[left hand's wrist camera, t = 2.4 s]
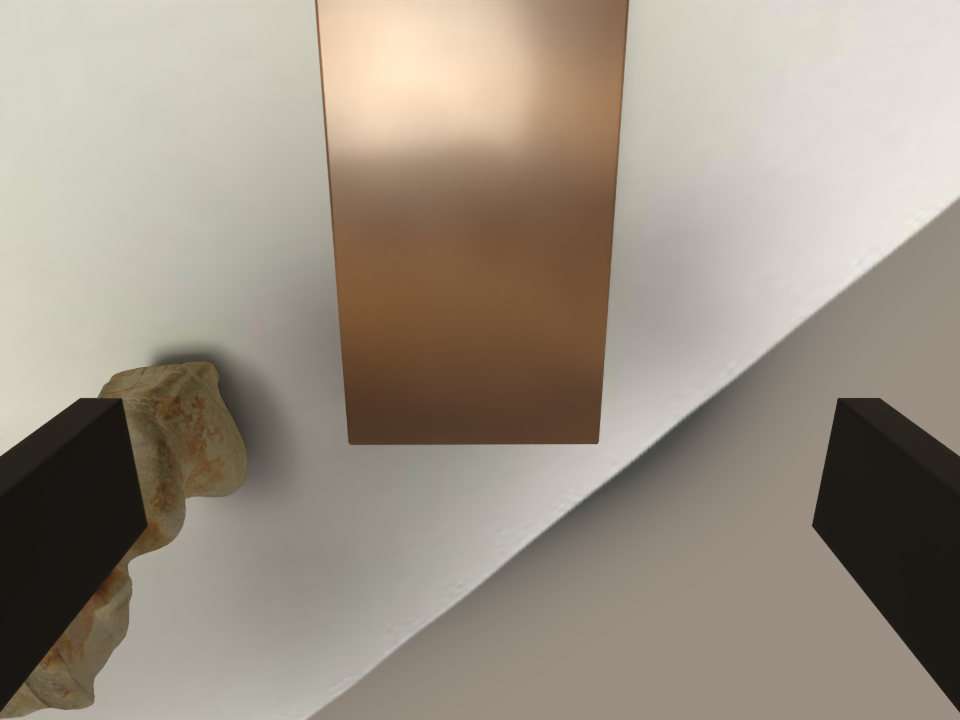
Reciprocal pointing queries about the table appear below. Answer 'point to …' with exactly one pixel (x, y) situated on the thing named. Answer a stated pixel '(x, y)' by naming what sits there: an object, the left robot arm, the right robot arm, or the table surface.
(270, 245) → the table surface
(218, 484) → the sculpture
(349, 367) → the box
